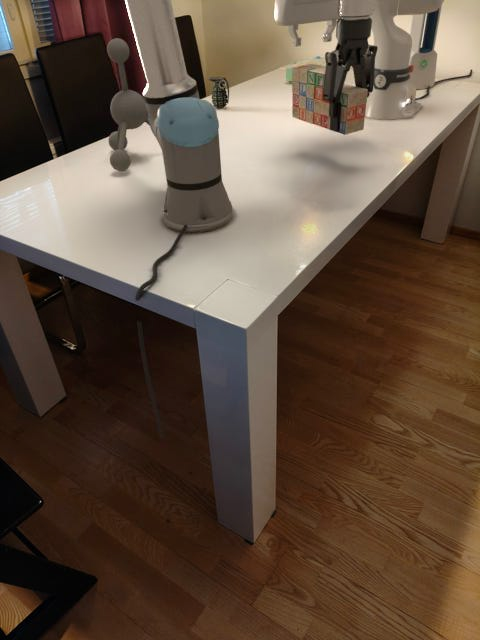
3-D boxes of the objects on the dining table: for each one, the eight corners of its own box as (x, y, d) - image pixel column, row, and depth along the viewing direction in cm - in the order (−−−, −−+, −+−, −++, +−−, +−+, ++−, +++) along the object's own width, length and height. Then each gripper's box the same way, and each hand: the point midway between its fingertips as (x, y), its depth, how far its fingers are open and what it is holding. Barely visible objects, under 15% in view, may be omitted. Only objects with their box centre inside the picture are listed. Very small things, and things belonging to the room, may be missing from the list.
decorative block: (308, 54, 216) (349, 57, 207) (307, 70, 220) (348, 74, 211) (277, 65, 200) (320, 69, 191) (277, 82, 204) (319, 87, 195)
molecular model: (194, 162, 134) (180, 38, 116) (114, 177, 128) (87, 49, 110) (171, 138, 152) (156, 27, 133) (100, 151, 146) (75, 36, 127)
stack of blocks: (364, 130, 118) (369, 74, 111) (344, 135, 116) (348, 79, 108) (310, 112, 133) (311, 62, 125) (291, 117, 131) (291, 66, 123)
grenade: (209, 109, 176) (207, 79, 170) (214, 105, 180) (212, 76, 174) (227, 110, 174) (225, 79, 168) (231, 105, 179) (229, 76, 173)
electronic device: (404, 91, 183) (418, -5, 165) (394, 86, 189) (407, -6, 171) (434, 87, 186) (451, -7, 167) (423, 83, 191) (438, -9, 173)
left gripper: (375, 11, 111) (364, 117, 125) (308, 21, 104) (304, 132, 118) (399, 13, 106) (385, 123, 120) (331, 23, 99) (324, 139, 113)
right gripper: (340, -28, 117) (336, 37, 126) (270, -23, 109) (270, 47, 118) (358, -28, 113) (352, 40, 121) (287, -23, 105) (286, 50, 113)
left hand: (345, 127), depth 119 cm, fingers closed on stack of blocks, 6 cm apart
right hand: (311, 43), depth 119 cm, fingers open, 8 cm apart
